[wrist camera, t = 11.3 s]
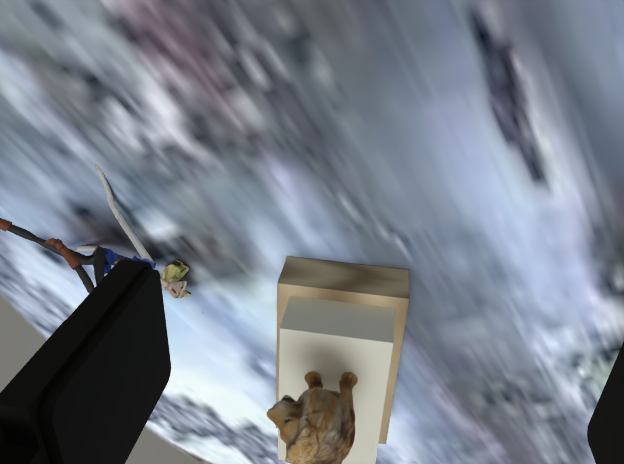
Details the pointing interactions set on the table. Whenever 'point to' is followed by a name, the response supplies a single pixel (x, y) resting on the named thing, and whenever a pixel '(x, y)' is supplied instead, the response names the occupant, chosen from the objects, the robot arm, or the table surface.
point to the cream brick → (339, 360)
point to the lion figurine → (317, 422)
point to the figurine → (105, 253)
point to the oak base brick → (349, 301)
